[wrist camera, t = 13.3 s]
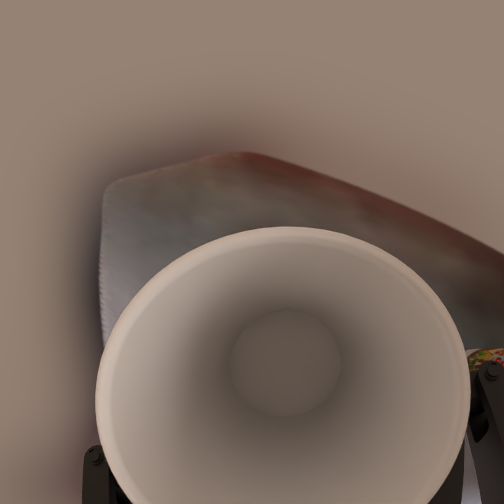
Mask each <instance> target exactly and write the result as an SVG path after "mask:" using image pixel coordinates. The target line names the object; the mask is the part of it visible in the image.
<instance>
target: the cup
mask: <svg viewBox="0 0 504 504" xmlns="http://www.w3.org/2000/svg"><path fill="white" fill-rule="evenodd" d="M95 395H96V396H95V401H96V402H95V407H96V408H95V409H96V420H97V427H98V432H99V437H100V441H101V444H102V448H103V451H104V454H105V457H106V459H107V462H108V464H109V466H110V469H111V471H112V473H113V475H114V476H115V478H116V480H117V482H118V484H119V485H120V487H121V488H122V490H123V491H124V493H125V494H126V496H127V497H128V498H129V500H130V501H131V502H132V503H133V504H428V503H429V501H430V500H431V499H432V498H433V496H434V495H435V494H436V492H437V491H438V490H439V488H440V487H441V485H442V484H443V482H444V481H445V479H446V477H447V476H448V474H449V472H450V470H451V468H452V467H453V465H454V462H455V460H456V458H457V456H458V453H459V451H460V448H461V445H462V443H463V439H464V436H465V432H466V428H467V423H468V417H469V411H470V395H471V390H470V374H469V368H468V362H467V357H466V353H465V350H464V346H463V343H462V340H461V337H460V335H459V332H458V330H457V328H456V325H455V323H454V321H453V320H452V318H451V316H450V314H449V312H448V311H447V309H446V307H445V306H444V305H443V303H442V302H441V300H440V299H439V297H438V296H437V295H436V294H435V292H434V291H433V290H432V289H431V288H430V287H429V286H428V284H427V283H426V282H425V281H424V280H423V279H422V278H421V277H420V276H418V275H417V274H416V273H415V272H414V271H413V270H412V269H411V268H409V267H408V266H407V265H405V264H404V263H402V262H401V261H400V260H398V259H397V258H396V257H394V256H392V255H390V254H389V253H387V252H385V251H384V250H382V249H380V248H378V247H376V246H374V245H371V244H369V243H367V242H365V241H363V240H360V239H357V238H354V237H351V236H348V235H345V234H341V233H337V232H332V231H328V230H323V229H315V228H307V227H270V228H261V229H255V230H248V231H243V232H239V233H236V234H232V235H228V236H225V237H222V238H219V239H216V240H214V241H211V242H208V243H206V244H204V245H202V246H200V247H198V248H195V249H193V250H191V251H189V252H188V253H186V254H184V255H183V256H181V257H179V258H178V259H176V260H174V261H173V262H172V263H170V264H169V265H168V266H166V267H165V268H163V269H162V270H161V271H159V272H158V273H157V274H156V275H155V276H154V277H153V278H152V279H150V280H149V281H148V282H147V283H146V284H145V285H144V286H143V287H142V288H141V289H140V291H139V292H138V293H137V294H136V295H135V296H134V297H133V298H132V300H131V301H130V302H129V304H128V305H127V307H126V308H125V309H124V311H123V312H122V314H121V315H120V317H119V319H118V321H117V322H116V324H115V326H114V327H113V329H112V332H111V334H110V336H109V338H108V341H107V343H106V346H105V349H104V352H103V355H102V358H101V361H100V366H99V370H98V375H97V383H96V394H95Z"/></svg>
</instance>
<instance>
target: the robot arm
mask: <svg viewBox="0 0 504 504" xmlns="http://www.w3.org/2000/svg"><path fill="white" fill-rule="evenodd" d="M469 374H470V390H471V395H470V411H469V417H468V423H467V428H466V432H467V436H468V440H469V443H470V447H471V451H472V456H473V460H474V464H475V469H476V474H477V479H478V484H479V489H480V495H481V501H482V504H504V367H503V365H502V364H501V363H499V362H498V361H494V360H488V361H485V362H483V363H482V364H481V365H480V367H479V369H478V370H473V371H469ZM463 474H464V439H463V443H462V445H461V448H460V451H459V453H458V456H457V458H456V460H455V462H454V465H453V467H452V468H451V470H450V472H449V474H448V476H447V477H446V479H445V481H444V482H443V484H442V485H441V487H440V488H439V490H438V491H437V492H436V494H435V495H434V496H433V498H432V499H431V500H430V501H429V503H428V504H461V498H462V487H463ZM82 487H83V489H82V504H133V503H132V502H131V501H130V500H129V498H128V497H127V496H126V494H125V493H124V491H123V490H122V488H121V487H120V485H119V484H118V482H117V480H116V478H115V476H114V475H113V473H112V471H111V469H110V466H109V464H108V462H107V459H106V457H105V454H104V451H103V448H102V446H100V445H96V446H93V447H91V448H90V449H88V451H87V452H86V453H85V457H84V465H83V486H82Z"/></svg>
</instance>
